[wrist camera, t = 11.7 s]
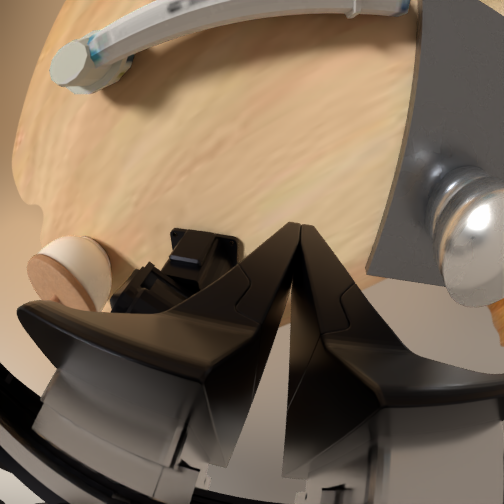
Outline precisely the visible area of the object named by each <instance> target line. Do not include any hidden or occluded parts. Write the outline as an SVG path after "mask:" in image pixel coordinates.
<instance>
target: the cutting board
mask: <svg viewBox="0 0 504 504" xmlns="http://www.w3.org/2000/svg"><path fill="white" fill-rule="evenodd" d="M488 176H492V177H498V178H502V179H504V16H502V15H501V14H499V13H498V12H496V11H495V10H493V9H492V8H490V7H489V6H487V5H485V4H484V3H482V2H481V1H479V0H418V21H417V42H416V55H415V65H414V74H413V82H412V90H411V96H410V103H409V109H408V115H407V120H406V126H405V131H404V136H403V140H402V145H401V150H400V154H399V158H398V163H397V167H396V171H395V175H394V178H393V182H392V186H391V190H390V193H389V197H388V200H387V204H386V207H385V210H384V214H383V217H382V220H381V223H380V226H379V230H378V233H377V236H376V239H375V242H374V245H373V247H372V250H371V253H370V256H369V259H368V261H367V264H366V267H365V269H366V274H367V275H372V276H379V277H385V278H392V279H398V280H405V281H411V282H418V283H424V284H431V285H438V286H444V287H446V285H445V283H444V281H443V278H442V276H441V274H440V271H439V269H438V267H437V265H436V262H435V260H434V256H433V251H432V240H433V234H434V229H435V226H436V223H437V221H438V218H439V216H440V214H441V212H442V210H443V209H444V207H445V206H446V204H447V202H448V201H449V200H450V199H451V198H452V196H453V195H454V194H455V193H456V192H457V191H458V190H460V189H461V188H462V187H463V186H465V185H466V184H468V183H469V182H471V181H473V180H476V179H478V178H482V177H488Z"/></svg>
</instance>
